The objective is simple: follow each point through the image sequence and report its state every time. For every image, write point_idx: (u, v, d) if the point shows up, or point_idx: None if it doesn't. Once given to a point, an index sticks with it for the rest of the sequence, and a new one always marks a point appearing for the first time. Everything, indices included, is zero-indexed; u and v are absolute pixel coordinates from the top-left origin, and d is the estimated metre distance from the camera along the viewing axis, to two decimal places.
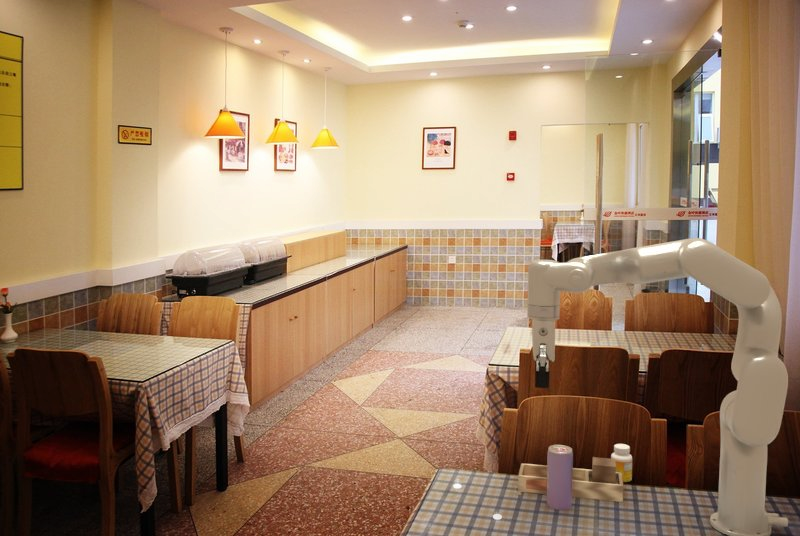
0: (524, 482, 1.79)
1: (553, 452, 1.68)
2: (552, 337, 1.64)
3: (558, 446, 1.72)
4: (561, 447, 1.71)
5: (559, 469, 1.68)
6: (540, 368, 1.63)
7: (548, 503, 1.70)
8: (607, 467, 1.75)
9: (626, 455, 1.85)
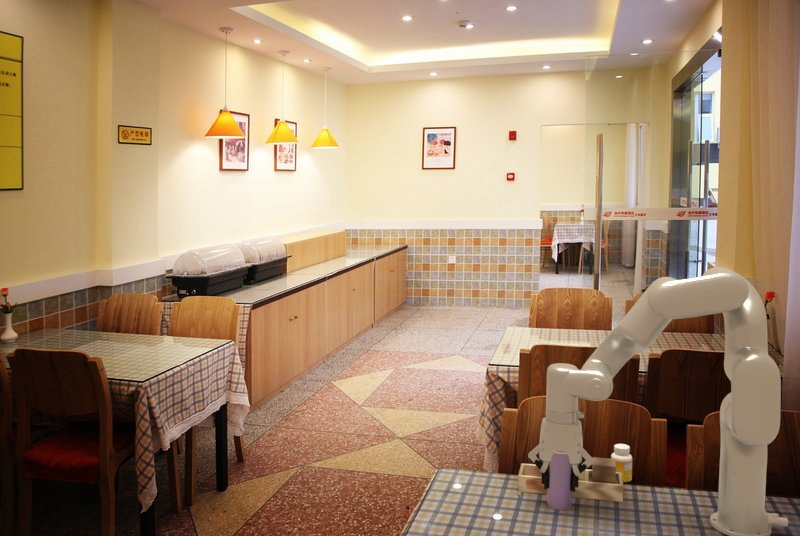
0: (524, 482, 1.79)
1: None
2: None
3: None
4: None
5: (559, 469, 1.67)
6: None
7: (548, 503, 1.70)
8: (607, 467, 1.75)
9: (626, 455, 1.85)
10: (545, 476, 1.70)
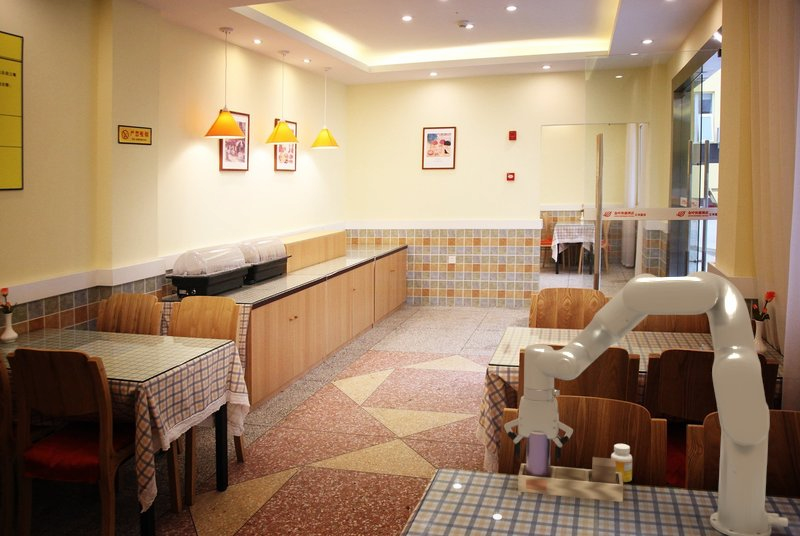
0: (524, 482, 1.79)
1: (532, 432, 1.79)
2: None
3: None
4: None
5: (537, 448, 1.78)
6: None
7: None
8: (607, 467, 1.75)
9: (626, 455, 1.85)
10: (518, 446, 1.81)
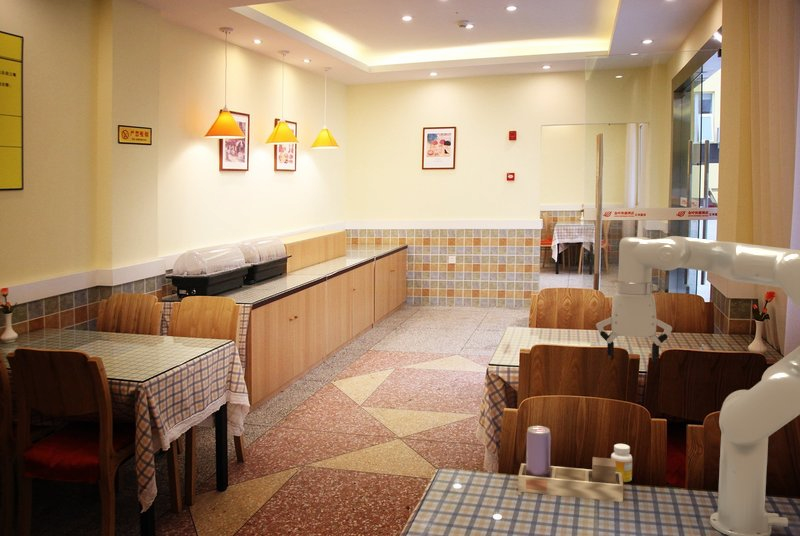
0: (524, 482, 1.79)
1: (532, 432, 1.79)
2: None
3: (537, 427, 1.83)
4: (539, 428, 1.82)
5: (537, 448, 1.78)
6: None
7: None
8: (607, 467, 1.75)
9: (626, 455, 1.85)
10: (611, 346, 1.69)
